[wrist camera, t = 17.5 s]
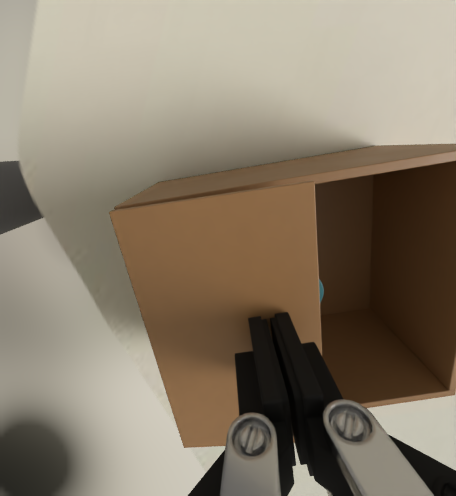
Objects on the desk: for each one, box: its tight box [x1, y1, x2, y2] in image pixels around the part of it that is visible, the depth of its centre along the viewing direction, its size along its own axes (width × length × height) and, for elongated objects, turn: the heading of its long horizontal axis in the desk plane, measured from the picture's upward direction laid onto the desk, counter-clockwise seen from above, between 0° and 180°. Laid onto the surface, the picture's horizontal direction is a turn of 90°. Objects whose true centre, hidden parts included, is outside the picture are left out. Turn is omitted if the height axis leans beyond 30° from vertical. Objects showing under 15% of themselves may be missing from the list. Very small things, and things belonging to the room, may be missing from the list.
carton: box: [114, 144, 456, 408], centre depth 16 cm, size 15×13×8 cm
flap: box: [109, 180, 322, 448], centre depth 12 cm, size 7×13×1 cm, turn 9°
